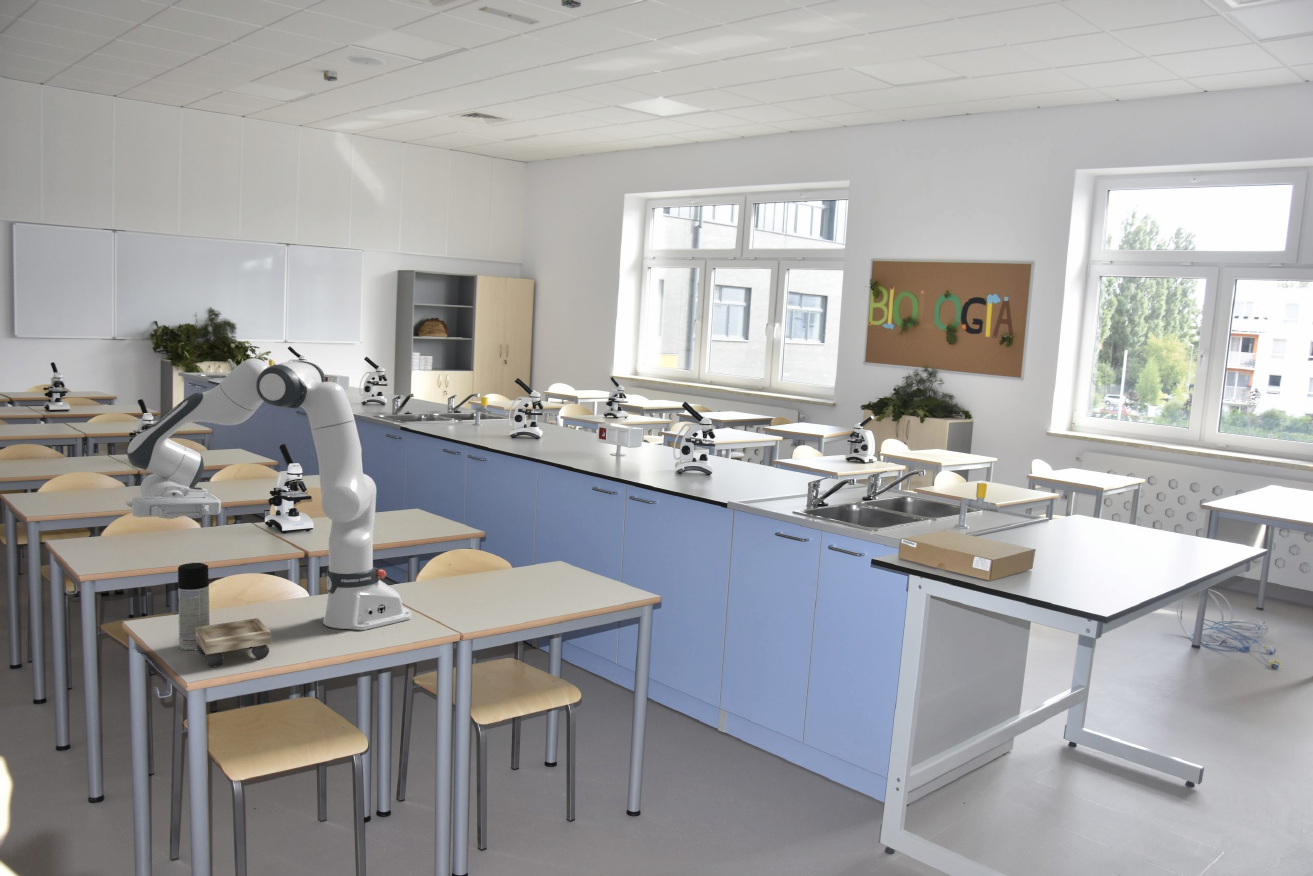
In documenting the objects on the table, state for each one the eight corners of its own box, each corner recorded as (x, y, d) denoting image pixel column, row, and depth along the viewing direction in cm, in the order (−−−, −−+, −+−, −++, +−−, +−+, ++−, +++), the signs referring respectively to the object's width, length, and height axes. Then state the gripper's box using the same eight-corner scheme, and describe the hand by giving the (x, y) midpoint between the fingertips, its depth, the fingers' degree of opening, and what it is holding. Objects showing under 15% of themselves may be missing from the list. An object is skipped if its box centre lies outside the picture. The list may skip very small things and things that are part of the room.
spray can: (202, 640, 234) (200, 560, 232) (215, 646, 230) (213, 565, 227) (174, 646, 229) (172, 565, 227) (187, 653, 225) (185, 570, 222)
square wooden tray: (258, 643, 232) (257, 618, 231) (271, 658, 223) (270, 631, 222) (195, 654, 224) (194, 627, 223) (206, 669, 214) (205, 641, 214)
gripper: (125, 489, 237) (138, 502, 227) (212, 488, 250) (228, 500, 240) (123, 514, 238) (136, 528, 228) (210, 511, 251) (226, 524, 241)
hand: (184, 514), depth 234 cm, fingers open, 8 cm apart
